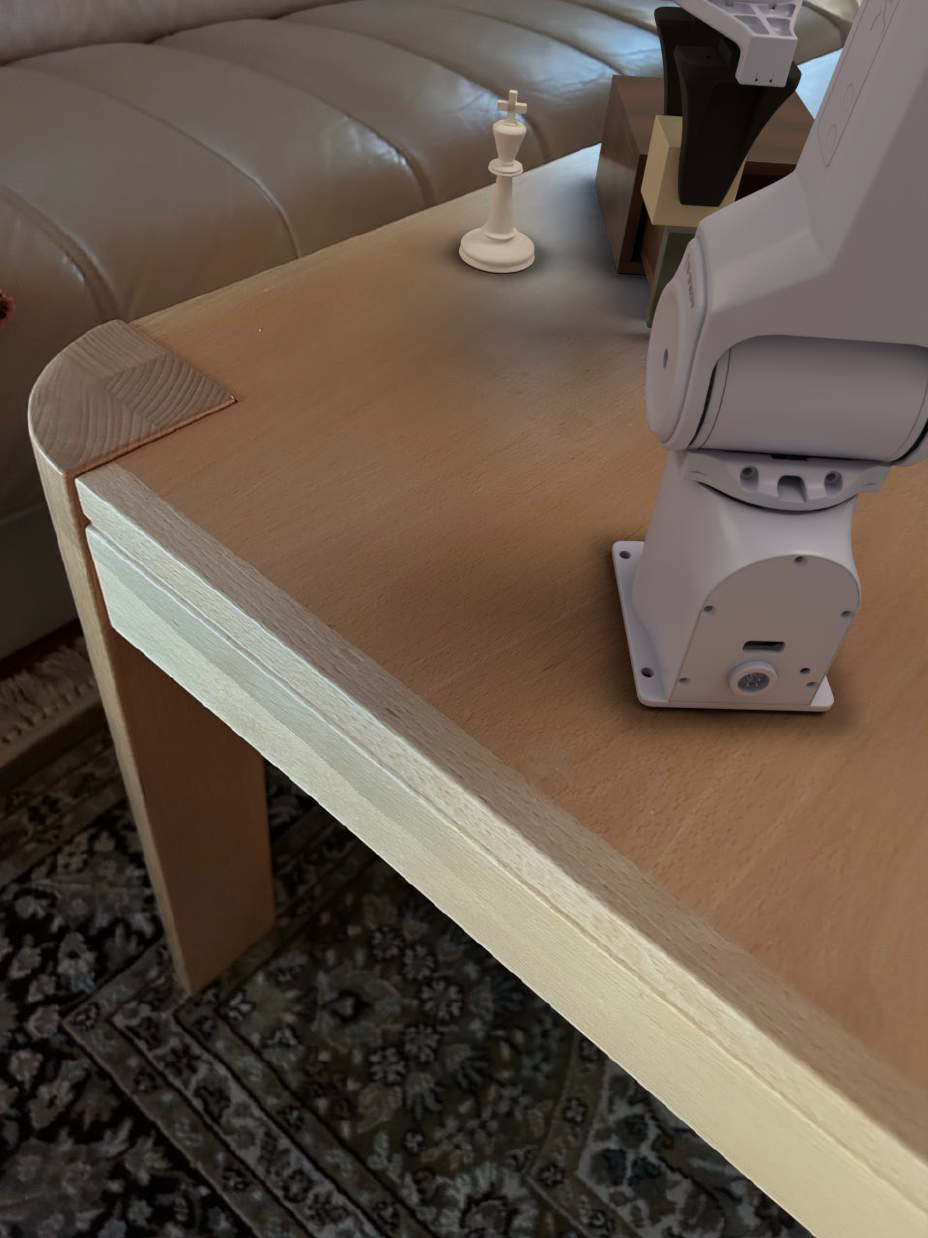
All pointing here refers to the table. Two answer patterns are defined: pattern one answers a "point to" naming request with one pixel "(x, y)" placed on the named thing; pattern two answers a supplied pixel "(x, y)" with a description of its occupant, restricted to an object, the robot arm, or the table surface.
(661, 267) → the drawer
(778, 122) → the cabinet
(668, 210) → the block
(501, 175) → the chess piece
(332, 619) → the table surface
